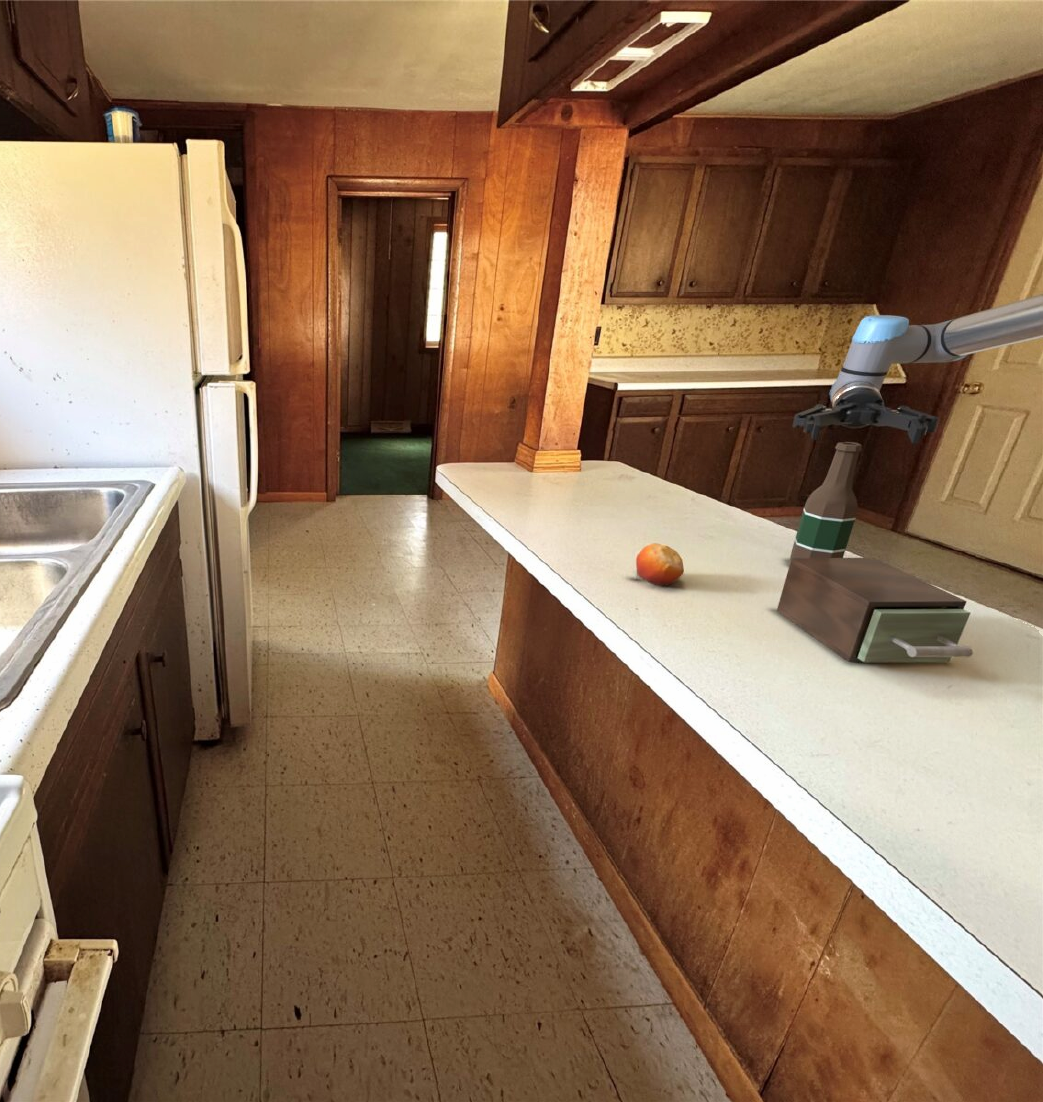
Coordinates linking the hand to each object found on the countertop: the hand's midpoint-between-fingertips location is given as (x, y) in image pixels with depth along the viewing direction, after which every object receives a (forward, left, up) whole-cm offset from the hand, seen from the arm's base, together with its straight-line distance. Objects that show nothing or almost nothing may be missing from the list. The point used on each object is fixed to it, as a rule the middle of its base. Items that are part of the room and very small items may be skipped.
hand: (865, 434), depth 108 cm
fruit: (+35, +7, -26) cm, 44 cm away
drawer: (+15, +31, -24) cm, 42 cm away
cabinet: (+15, +27, -25) cm, 40 cm away
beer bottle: (+3, +1, -26) cm, 26 cm away
